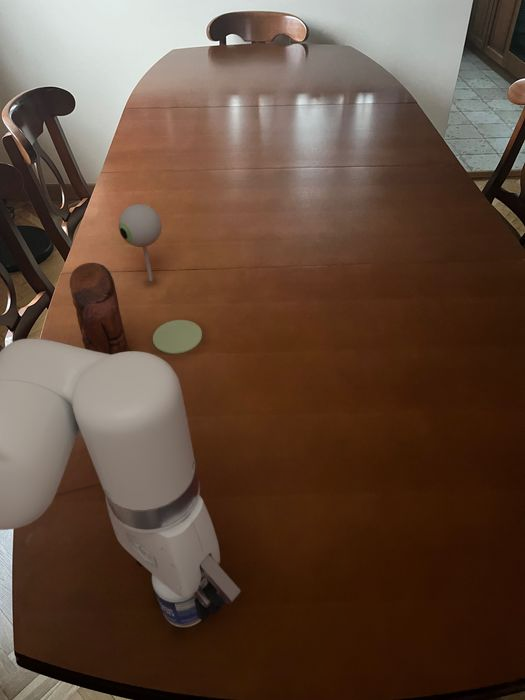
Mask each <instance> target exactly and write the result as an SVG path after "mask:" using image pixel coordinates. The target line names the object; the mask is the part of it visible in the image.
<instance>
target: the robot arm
mask: <svg viewBox="0 0 525 700" xmlns="http://www.w3.org/2000/svg"><path fill="white" fill-rule="evenodd" d="M77 437H82V439H83V442H84V444H85V446H86V450H87V452H88V454H89V457H90V459H91V462H92V464H93V467H94V470H95V472H96V475H97V478H98V480H99V483H100V485H101V488H102V490H103V492H104V495H105V503H106V508H107V512H108V516H109V520H110V522H111V525H112V528H113V531H114V534H115V537H116V539H117V542H118V543H119V544H120V545H121V546H122V548H123V549H124V550H126V552H128V554H130V555H131V556H132V557H133V558H134V559H135V562H136V564H137V565H138V566H139V567H144V568H145V569H146V570H148V571H149V573H151V575H152V574H153V575H154V576H155V577H157V578H158V579H159V580H160V581H161V582H162V583H164V584H165V585H166V586H167V587H168V588H169V589H171V590H172V591H173V592H174V593H176V594H177V595H179V596H180V597H183V598H190V597H191V596H192V595H193V594H195V596H196V598H195V600H194V602H195V605H196V609H197V613H198V617H199V619H201V621H202V622H205V621H206V620H207V619H208V618H209V616H210V615H211V616H215V615H217V614H218V612H220V610H221V609H222V608H223V606H224V605H233V603H234V602H235V601H236V600H237V599H238V597H239V596H240V595H241V594H242V590H241V589H240V588H239V587H238V586H237V584H236V583H235V582H234V581H233V580H232V579H231V578H230V577H229V575H228V574H227V573H226V572H225V571H224V570H223V568H222V567H221V566H220V564H221V552H220V545H219V540H218V537H217V534H216V530H215V527H214V524H213V521H212V518H211V516H210V514H209V511H208V508H207V506H206V503H205V502H204V500H203V497H202V496H201V495H200V493H201V492H200V491H201V485H200V484H201V483H200V480H199V479H200V478H199V474H198V468H197V464H196V458H195V455H194V449H193V442H192V437H191V432H190V426H189V421H188V417H187V412H186V407H185V402H184V395H183V390H182V387H181V382H180V379H179V376H178V375H177V373H176V372H175V370H174V368H173V367H172V366H171V365H170V364H169V363H168V362H167V361H166V360H164V359H163V358H162V357H159V356H157V355H155V354H152V353H150V352H146V351H138V350H135V351H134V350H132V351H131V350H129V351H127V352H121V353H116V354H112V355H110V354H105V353H101V352H96V351H91V350H87V349H85V348H84V347H79V346H75V345H71V344H67V343H63V342H59V341H55V340H51V339H44V338H35V337H34V338H33V337H32V338H31V337H29V338H21V339H18V340H17V339H16V340H14V341H12V342H10V343H9V344H7V345H5V347H3V348H2V349H1V351H0V531H7V530H14V529H20V528H23V527H25V526H28V525H30V524H32V523H33V522H35V521H36V520H38V519H39V518H40V517H41V516H43V515H44V513H46V511H47V510H48V509H49V507H50V506H51V504H52V502H53V501H54V499H55V497H56V494H57V492H58V489H59V487H60V485H61V481H62V480H63V476H64V473H65V471H66V469H67V466H68V462H69V460H70V457H71V454H72V451H73V449H74V446H75V442H76V441H77V440H76V439H77ZM205 577H206V578H207V581H208V584H207V585H206V586H205V587H204V588H203V589H202V588H201V587H200V585H199V584H200V582H201V581H202V580H203V579H204V578H205Z"/></svg>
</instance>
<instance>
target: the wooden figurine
mask: <svg viewBox="0 0 525 700" xmlns="http://www.w3.org/2000/svg"><path fill="white" fill-rule="evenodd" d="M115 285H116V284H115V280H114V278H113V276H112V273H111V272H110V270H108V268H107V267H106V266H105V265H103V264H101V263H98V262H86V263H83V264H80V265H78V266H77V267H76V268H74V269H73V270H72V272H71V274H70V278H69V288H70V294H71V298H72V304H73V306H74V308H75V311H76V312H75V313H76V319H77V323H78V326H79V327H78V328H79V331H80V334H81V340H82V344H83V346H84V347H83V348H84V349H87V350H91V351H96V352H101V353H105V354H110V355H112V354H116V353H121V352H127V351H130V349H129V346H128V342H127V338H126V336H127V335H126V331H125V328H124V324H123V319H122V315H121V311H120V306H119V300H118V294H117V289H116V286H115Z"/></svg>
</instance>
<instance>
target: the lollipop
mask: <svg viewBox="0 0 525 700" xmlns="http://www.w3.org/2000/svg"><path fill="white" fill-rule="evenodd" d="M162 226H163V225H162V220H161V217H160V216H159V214H158V212H157V211H156V210H155V209H153V208H152V207H151V206H149V205H147V204H142V203H136V204H132V205H129V206H128V207H126V208H125V209H124V210H123V211H122V212H121V214H120V216H119V219H118V231H119V233H120V236H121V237H122V239H123V240H124V241H125V242H126V243H128V244H129V245H131V246H133V247H137V248H142V251H143V255H144V256H143V257H144V259H145V260H144V261H145V266H146V270H147V271H146V272H147V275H148V281H149V282H154V277H153V273H152V268H151V262H150V257H149V251H148V247H149V246H152V245H153V244H154V243H156V241H157V240H158V239H159V237H160V235H161V233H162Z"/></svg>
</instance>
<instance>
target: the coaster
mask: <svg viewBox="0 0 525 700" xmlns="http://www.w3.org/2000/svg"><path fill="white" fill-rule="evenodd" d="M202 339H203V331H202V329H201V327H200V326H199V325H198V324H197V323H196V322H193V321H190V320H186V319H173V320H171V321H167V322H165V323H163V324H161V325H160V326H159V327H157V328H156V330H155V331H154V333H153V335H152V344H153V346H154V347H155V348H156V349H157V350H158V351H160V352H162V353H165V354H169V355H179V354H180V355H181V354H184V353H187V352H190V351H192V350H193V349H195V348H196V347H198V345H200V343H201V341H202Z"/></svg>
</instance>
